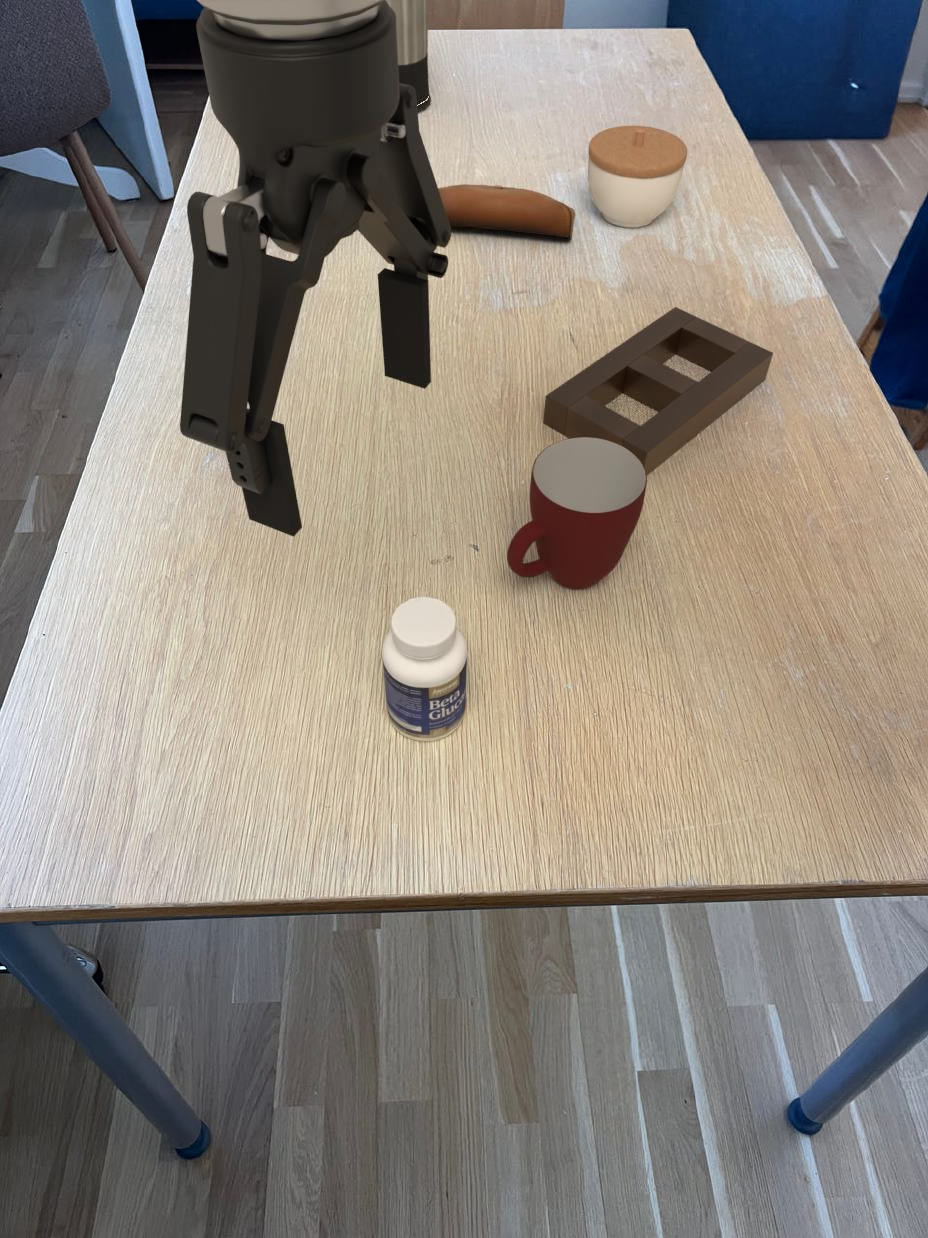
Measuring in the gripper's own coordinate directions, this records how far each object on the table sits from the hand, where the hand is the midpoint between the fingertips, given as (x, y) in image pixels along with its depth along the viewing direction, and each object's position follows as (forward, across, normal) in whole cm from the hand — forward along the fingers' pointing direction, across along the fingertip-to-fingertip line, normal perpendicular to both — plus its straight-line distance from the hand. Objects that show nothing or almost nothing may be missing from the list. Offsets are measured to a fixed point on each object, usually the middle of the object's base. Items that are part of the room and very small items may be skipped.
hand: (346, 446), depth 52 cm
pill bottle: (+20, +1, +5) cm, 21 cm away
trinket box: (+20, -70, -7) cm, 73 cm away
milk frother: (+20, -81, -49) cm, 97 cm away
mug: (+20, -14, +9) cm, 26 cm away
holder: (+20, -38, +8) cm, 44 cm away
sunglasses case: (+20, -61, -20) cm, 68 cm away
